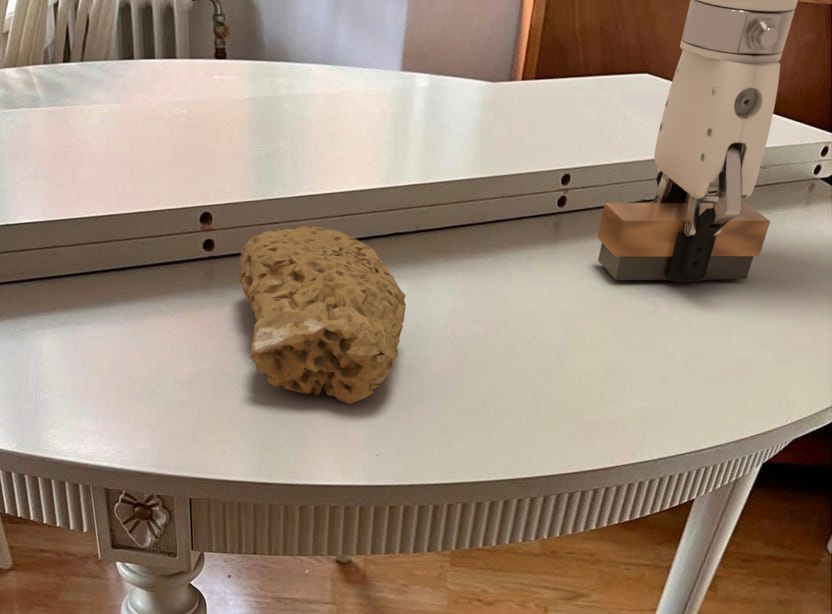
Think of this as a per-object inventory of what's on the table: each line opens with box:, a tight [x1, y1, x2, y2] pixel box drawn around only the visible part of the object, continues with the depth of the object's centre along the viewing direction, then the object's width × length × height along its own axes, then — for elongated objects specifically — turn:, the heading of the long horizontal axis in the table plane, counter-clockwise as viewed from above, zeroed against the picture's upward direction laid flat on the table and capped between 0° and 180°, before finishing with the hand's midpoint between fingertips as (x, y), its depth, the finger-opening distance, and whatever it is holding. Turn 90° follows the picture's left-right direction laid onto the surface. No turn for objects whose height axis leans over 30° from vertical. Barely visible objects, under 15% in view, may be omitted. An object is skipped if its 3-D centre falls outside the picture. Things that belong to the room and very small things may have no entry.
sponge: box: [238, 225, 407, 405], centre depth 71 cm, size 13×8×20 cm
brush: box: [597, 202, 771, 281], centre depth 86 cm, size 13×4×5 cm, turn 99°
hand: (673, 266), depth 87 cm, fingers closed on brush, 4 cm apart
